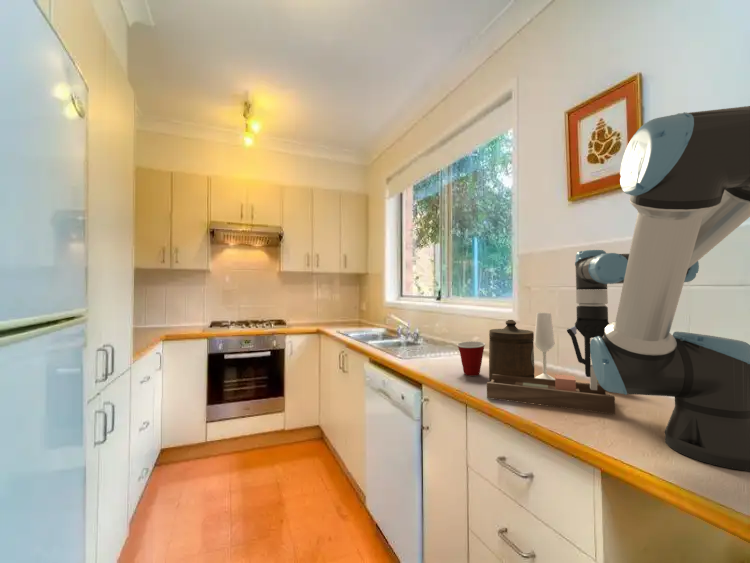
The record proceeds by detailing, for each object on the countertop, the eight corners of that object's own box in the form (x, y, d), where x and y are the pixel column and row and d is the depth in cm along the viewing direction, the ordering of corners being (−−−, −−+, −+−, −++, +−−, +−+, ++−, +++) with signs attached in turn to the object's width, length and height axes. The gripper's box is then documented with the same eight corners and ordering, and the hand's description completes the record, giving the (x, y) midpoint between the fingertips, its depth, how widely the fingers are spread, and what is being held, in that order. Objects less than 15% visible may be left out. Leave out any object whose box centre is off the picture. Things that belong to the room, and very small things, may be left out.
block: (575, 394, 96) (575, 380, 96) (555, 392, 98) (555, 378, 99) (574, 389, 101) (574, 376, 101) (555, 387, 103) (555, 374, 103)
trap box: (615, 414, 89) (614, 396, 89) (486, 397, 103) (486, 382, 103) (607, 400, 100) (607, 385, 100) (492, 387, 114) (492, 373, 114)
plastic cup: (451, 372, 135) (450, 342, 136) (472, 369, 140) (472, 340, 140) (469, 379, 125) (469, 346, 126) (492, 375, 130) (491, 344, 130)
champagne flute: (550, 376, 128) (549, 312, 129) (558, 381, 122) (557, 313, 122) (532, 376, 129) (530, 312, 130) (538, 380, 122) (537, 313, 123)
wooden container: (544, 386, 115) (543, 320, 116) (507, 390, 111) (505, 322, 112) (515, 375, 130) (514, 317, 130) (480, 379, 125) (479, 318, 126)
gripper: (617, 304, 97) (619, 388, 97) (565, 304, 103) (566, 382, 103) (622, 306, 91) (624, 395, 90) (566, 305, 97) (567, 389, 96)
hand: (593, 388), depth 97 cm, fingers closed
